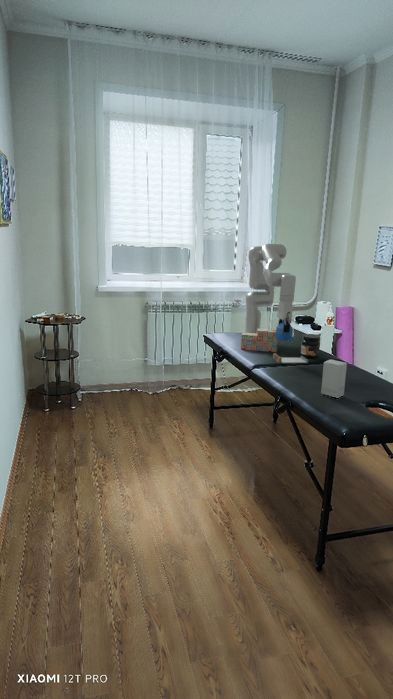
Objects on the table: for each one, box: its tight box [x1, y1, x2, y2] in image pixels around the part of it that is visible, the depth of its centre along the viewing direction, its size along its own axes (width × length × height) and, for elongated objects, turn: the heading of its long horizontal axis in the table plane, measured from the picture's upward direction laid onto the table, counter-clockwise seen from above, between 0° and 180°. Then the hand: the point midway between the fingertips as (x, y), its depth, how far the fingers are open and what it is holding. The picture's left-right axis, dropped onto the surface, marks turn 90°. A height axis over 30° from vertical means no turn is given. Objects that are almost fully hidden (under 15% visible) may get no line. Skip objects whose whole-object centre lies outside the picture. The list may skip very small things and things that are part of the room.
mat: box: [280, 355, 309, 364], centre depth 254 cm, size 9×16×2 cm, turn 100°
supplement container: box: [300, 333, 321, 359], centre depth 264 cm, size 10×10×12 cm
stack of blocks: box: [240, 328, 279, 353], centre depth 274 cm, size 21×6×12 cm, turn 85°
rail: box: [272, 352, 283, 364], centre depth 253 cm, size 10×1×3 cm, turn 10°
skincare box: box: [320, 359, 348, 399], centre depth 201 cm, size 8×7×16 cm
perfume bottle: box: [275, 320, 294, 342], centre depth 249 cm, size 6×6×12 cm
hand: (283, 330), depth 249 cm, fingers closed on perfume bottle, 7 cm apart
